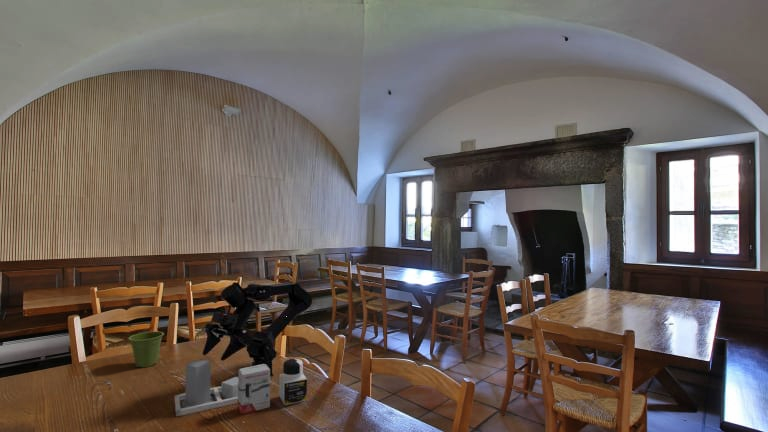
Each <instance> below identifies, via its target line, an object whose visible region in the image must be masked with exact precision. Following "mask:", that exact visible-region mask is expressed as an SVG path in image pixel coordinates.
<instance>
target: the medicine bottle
mask: <svg viewBox="0 0 768 432" xmlns="http://www.w3.org/2000/svg"><path fill="white" fill-rule="evenodd" d="M303 365H304V362H303V361H302V359H298V358H290V359H287V360H285V361H284V362H283V367H282V369H283V371H282V372H283V373H280V374H279V377H278V378H279V382H278V383H279V385H278V386H279V389H278V390H279V392H278V393H279V396H278V397H279V398H280V400H281V402H282V404H283V405H284V406H288V405H293V404H298V403H302V402H306V401H307V400H308V399H307V398H308V393H307V392H308V379H307V377H306V376H305V374H304V371H303V370H304V369H303V368H304V367H303Z"/></svg>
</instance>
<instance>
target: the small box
mask: <svg viewBox="0 0 768 432" xmlns="http://www.w3.org/2000/svg"><path fill="white" fill-rule="evenodd" d="M220 393H221V394H220V396H221V399H229V398H233V397H238V376H234V377H231V378H229V379H227V380H225V381H222V382H221V392H220Z"/></svg>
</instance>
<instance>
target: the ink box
mask: <svg viewBox="0 0 768 432" xmlns="http://www.w3.org/2000/svg"><path fill="white" fill-rule="evenodd" d="M237 377H238V403H237V409H238V410H239V411H238V412H240V414H241V415H243V414H248V413H253V412H257V411H259V410H264V409H267V408H270V407H271V376H270V368H269V367H268V366H267V365H266V364H261V365H256V366H247V367H243V368H239V369H238V375H237Z"/></svg>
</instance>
